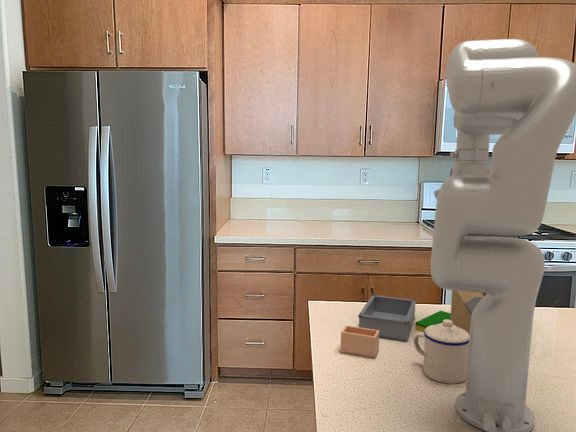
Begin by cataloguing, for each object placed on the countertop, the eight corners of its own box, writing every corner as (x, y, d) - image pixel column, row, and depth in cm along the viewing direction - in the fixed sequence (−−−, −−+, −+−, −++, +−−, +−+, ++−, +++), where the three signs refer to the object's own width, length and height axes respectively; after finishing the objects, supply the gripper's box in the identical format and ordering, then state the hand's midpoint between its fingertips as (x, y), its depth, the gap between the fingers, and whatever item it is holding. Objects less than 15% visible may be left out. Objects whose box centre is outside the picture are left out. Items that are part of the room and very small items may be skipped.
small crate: (375, 358, 100) (375, 337, 99) (340, 352, 102) (340, 332, 102) (378, 350, 104) (379, 330, 103) (345, 345, 107) (345, 325, 106)
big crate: (407, 342, 109) (408, 322, 108) (357, 334, 113) (358, 315, 112) (415, 317, 125) (416, 300, 125) (371, 311, 130) (372, 294, 129)
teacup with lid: (475, 375, 93) (479, 321, 91) (454, 390, 86) (458, 332, 85) (423, 355, 101) (426, 306, 100) (401, 368, 95) (404, 316, 94)
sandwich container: (509, 368, 96) (514, 301, 94) (448, 343, 109) (451, 284, 107) (529, 358, 101) (535, 294, 99) (468, 336, 113) (472, 279, 111)
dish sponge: (464, 325, 121) (465, 316, 121) (439, 339, 112) (440, 330, 112) (440, 318, 126) (440, 310, 126) (414, 331, 117) (414, 322, 117)
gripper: (439, 156, 108) (436, 226, 110) (514, 157, 106) (508, 228, 108) (432, 156, 115) (429, 222, 117) (502, 157, 113) (497, 223, 116)
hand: (467, 225), depth 113 cm, fingers open, 9 cm apart
